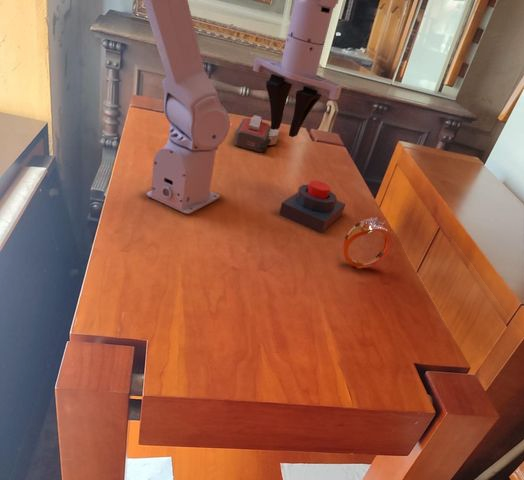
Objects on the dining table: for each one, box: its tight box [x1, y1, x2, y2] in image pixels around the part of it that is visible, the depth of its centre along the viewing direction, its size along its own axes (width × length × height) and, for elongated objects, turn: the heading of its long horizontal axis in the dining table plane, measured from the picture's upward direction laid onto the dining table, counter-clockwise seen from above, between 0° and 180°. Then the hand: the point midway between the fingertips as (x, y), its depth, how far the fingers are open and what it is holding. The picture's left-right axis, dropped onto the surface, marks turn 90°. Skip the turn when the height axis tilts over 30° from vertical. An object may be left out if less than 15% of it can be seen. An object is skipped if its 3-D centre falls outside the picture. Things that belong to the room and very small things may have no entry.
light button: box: [307, 180, 331, 199], centre depth 81 cm, size 4×4×2 cm
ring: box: [342, 216, 392, 270], centre depth 71 cm, size 7×3×8 cm, turn 93°
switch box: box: [278, 184, 346, 234], centre depth 83 cm, size 10×8×4 cm
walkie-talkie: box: [233, 114, 281, 153], centre depth 107 cm, size 9×4×20 cm
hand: (284, 131), depth 82 cm, fingers open, 3 cm apart
